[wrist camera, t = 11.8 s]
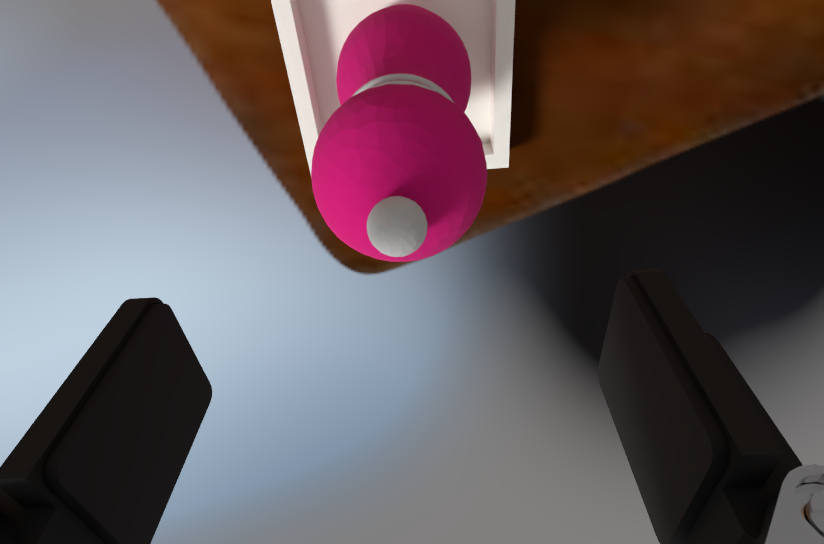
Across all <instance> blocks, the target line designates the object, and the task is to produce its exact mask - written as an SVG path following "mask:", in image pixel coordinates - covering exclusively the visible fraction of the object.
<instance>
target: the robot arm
mask: <svg viewBox="0 0 824 544" xmlns="http://www.w3.org/2000/svg"><path fill="white" fill-rule="evenodd" d="M598 377H599V383H600V386H601V389H602V391H603V394H604V397H605V399H606V402H607V405H608V407H609V410H610V413H611V415H612V418H613V421H614V424H615V426H616V429H617V432H618V434H619V437H620V440H621V442H622V445H623V448H624V450H625V453H626V456H627V458H628V461H629V464H630V466H631V469H632V472H633V475H634V477H635V480H636V483H637V485H638V488H639V491H640V493H641V496H642V499H643V501H644V504H645V507H646V509H647V512H648V515H649V517H650V520H651V523H652V525H653V528H654V531H655V534H656V536H657V538H658V541H659V542H660V544H824V466H821V465H815V464H814V465H805V466H803V465H802V463H801V462H800V461H799V459H798V458H797V456H796V455H795V453H794V452H793V450H792V449H791V447H790V446H789V445H788V443H787V442H786V440H785V438H784V437H783V436H782V434H781V433H780V431H779V430H778V428H777V427H776V426H775V424H774V422H773V421H772V419H771V418H770V416H769V415H768V413H767V412H766V411H765V409H764V408H763V406H762V405H761V403H760V402H759V400H758V399H757V397H756V396H755V394H754V393H753V391H752V390H751V389H750V387H749V386H748V384H747V383H746V381H745V380H744V378H743V377H742V375H741V374H740V372H739V371H738V370H737V368H736V366H735V365H734V364H733V362H732V361H731V359H730V358H729V356H728V355H727V353H726V352H725V350H724V349H723V348H722V346H721V345H720V343H719V342H718V341H717V340H716V338H714V336H712V335H710V334H708V333H704V331H703V329H702V328H701V326H700V325H699V323H698V322H697V320H696V319H695V317H694V316H693V314H692V313H691V311H690V310H689V308H688V307H687V305H686V304H685V302H684V301H683V299H682V298H681V296H680V295H679V293H678V292H677V290H676V289H675V287H674V286H673V284H672V283H671V281H670V280H669V278H668V277H667V275H666V274H665V273H664V271H662V270H660V269H657V270H639V271H630V272H629V273H628V275H627V277H626V278H625V279H620V280H619V281H618V284H617V288H616V292H615V297H614V301H613V306H612V310H611V315H610V319H609V323H608V327H607V332H606V336H605V341H604V345H603V349H602V354H601V359H600V363H599V367H598ZM211 397H212V388H211V385H210V382H209V380H208V379H207V376H206V375H205V373H204V371H203V369H202V367H201V365H200V363H199V361H198V359H197V357H196V355H195V354H194V352H193V350H192V348H191V346H190V344H189V342H188V340H187V338H186V336H185V334H184V332H183V330H182V328H181V326H180V325H179V323H178V321H177V319H176V317H175V315H174V313H173V311H172V309H171V308H170V306H169V305H167V304H163V302H162V301H161V300H160V299H158V298H138V299H129V300H126V301H125V302H124V303H123V304H122V305H121V306H120V308H119V309H118V310H117V312H116V313H115V314H114V316H113V317H112V318H111V320H110V321H109V323H108V324H107V325H106V327H105V328H104V329H103V330H102V332H101V333H100V334H99V336H98V337H97V339H96V340H95V341H94V343H93V344H92V345H91V347H90V348H89V349H88V351H87V352H86V353H85V355H84V356H83V357H82V359H81V360H80V361H79V363H78V364H77V365H76V367H75V368H74V369H73V371H72V372H71V373H70V375H69V376H68V378H67V379H66V380H65V381H64V383H63V384H62V385H61V387H60V388H59V389H58V391H57V392H56V393H55V395H54V396H53V397H52V399H51V400H50V401H49V403H48V404H47V405H46V407H45V408H44V410H43V411H42V412H41V414H40V415H39V416H38V417H37V419H36V420H35V421H34V423H33V424H32V425H31V427H30V428H29V429H28V431H27V432H26V434H25V435H24V436H23V438H22V439H21V440H20V442H19V443H18V445H17V446H16V447H15V448H14V450H13V451H12V452H11V454H10V455H9V456H8V458H7V459H6V460H5V462H4V463H3V464H2V466H1V467H0V544H150V543H151V541H152V538H153V536H154V534H155V531H156V529H157V527H158V524H159V522H160V519H161V517H162V515H163V512H164V510H165V508H166V505H167V503H168V500H169V498H170V496H171V494H172V491H173V488H174V486H175V484H176V482H177V479H178V477H179V475H180V472H181V470H182V468H183V465H184V463H185V460H186V458H187V456H188V453H189V451H190V449H191V446H192V444H193V442H194V439H195V437H196V434H197V432H198V429H199V427H200V425H201V423H202V420H203V418H204V416H205V413H206V411H207V409H208V406H209V404H210V401H211Z"/></svg>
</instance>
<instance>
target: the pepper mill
mask: <svg viewBox="0 0 824 544" xmlns="http://www.w3.org/2000/svg"><path fill="white" fill-rule="evenodd" d="M336 85H337V94H338V98H339V102H340V105H341V106H340V107H339V108H338V109H337V110H336V111H335V112H334V113H333V114H332V115H331V117H330V118H329V119H328V121H327V122H326V124H325V126H324V127H323V129H322V131H321V132H320V134H319V137H318V139H317V142H316V145H315V148H314V153H313V157H312V170H311V177H312V187H313V192H314V196H315V200H316V203H317V207H318V209H319V211H320V213H321V214H322V216H323V218H324V220H325V222H326V223H327V225H328V226H329V228H330V229H331V230H332V231H333V232H334V233H335V235H336V236H337V237H338V238H339V239H340V240H342V241H343V242H344V243H346V244H347V245H348V246H350V247H351V248H353V249H355V250H357V251H358V252H360V253H362V254H365V255H367V256H370V257H373V258H375V259H380V260H385V261H392V262H407V261H415V260H420V259H423V258H427V257H430V256H433V255H435V254H437V253H439V252H441V251H443V250H445V249H447V248H448V247H450V246H451V245H452V244H453V243H455V242H456V241H457V240H459V239H460V238H461V236H462V235H463V234H464V233H465V232H466V231H467V230H468V228H469V227H470V226H471V225H472V223H473V222H474V220H475V218H476V216H477V214H478V212H479V210H480V208H481V205H482V201H483V198H484V194H485V190H486V182H487V164H486V159H485V154H484V150H483V145H482V141H481V139H480V137H479V135H478V133H477V131H476V129H475V128H474V126H473V124H472V123H471V121H470V119H469V118H468V116H467V115H466V114H465V113H464V112H465V110H466V108H467V105H468V101H469V97H470V93H471V68H470V60H469V57H468V53H467V50H466V48H465V46H464V43H463V41H462V40H461V38H460V37H459V35H458V34H457V32H456V31H455V30H454V29H453V28H452V26H451V25H450V24H449V23H448V22H446V21H445V20H444V19H443V18H441V17H440V16H438V15H437V14H435V13H433V12H431V11H429V10H427V9H425V8H422V7H420V6H416V5H410V4H398V5H394V6H390V7H387V8H383V9H381V10H378V11H376V12H374V13H372V14H370V15H369V16H367V17H366V18H365V19H363V20H362V21H361V22H359V23H358V25H357V26H356V27H355V28H354V29H353V30H352V31H351V32H350V34H349V36H348V37H347V39H346V41H345V43H344V44H343V47H342V50H341V52H340V55H339V60H338V65H337V76H336Z"/></svg>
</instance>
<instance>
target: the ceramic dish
mask: <svg viewBox="0 0 824 544" xmlns="http://www.w3.org/2000/svg"><path fill="white" fill-rule="evenodd" d="M271 3H272V7H273V11H274V16H275V20H276V24H277V29H278V33H279V38H280V42H281V46H282V51H283V55H284V59H285V64H286V68H287V73H288V77H289V81H290V86H291V90H292V94H293V99H294V103H295V108H296V112H297V116H298V121H299V125H300V129H301V134H302V138H303V143H304V147H305V151H306V156H307V160H308V164H309V169H310V173H311V170H312V157H313V153H314V148H315V145H316V142H317V139H318V137H319V134H320V132H321V131H322V129H323V127H324V126H325V124H326V122H327V121H328V119H329V118H330V117H331V115H332V114H333V113H334V112H335V111H336V110H337V109H338V108H339V107H340V106H341V105H340V102H339V98H338V94H337V85H336V76H337V65H338V60H339V55H340V52H341V50H342V47H343V44H344V43H345V41H346V39H347V37H348V36H349V34H350V32H351V31H352V30H353V29H354V28H355V27H356V26H357V25H358V23H359V22H361V21H362V20H363V19H365V18H366V17H367V16H369V15H370V14H372V13H374V12H376V11H378V10H381V9H383V8H387V7H390V6H394V5H398V4H410V5H416V6H420V7H422V8H425V9H427V10H429V11H431V12H433V13H435V14H437V15H438V16H440V17H441V18H443V19H444V20H445V21H446V22H448V23H449V24H450V25H451V26H452V28H453V29H454V30H455V31H456V32H457V34H458V35H459V37H460V38H461V40H462V41H463V43H464V46H465V48H466V50H467V53H468V57H469V60H470V68H471V93H470V97H469V101H468V105H467V108H466V110H465V112H464V113H465V114H466V115H467V116H468V118H469V119H470V121H471V123H472V124H473V126H474V128H475V129H476V131H477V133H478V135H479V137H480V139H481V141H482V145H483V150H484V154H485V159H486V164H487V169H494V168H507V167H509V146H510V121H511V97H512V72H513V47H514V23H515V0H271Z"/></svg>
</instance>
